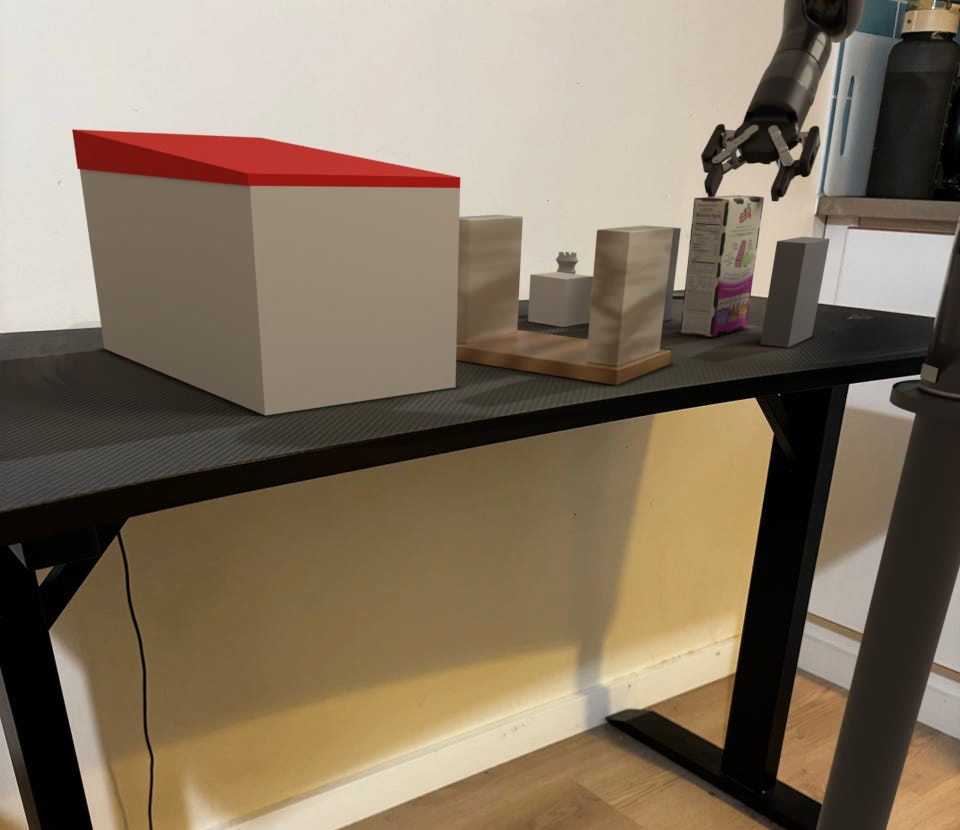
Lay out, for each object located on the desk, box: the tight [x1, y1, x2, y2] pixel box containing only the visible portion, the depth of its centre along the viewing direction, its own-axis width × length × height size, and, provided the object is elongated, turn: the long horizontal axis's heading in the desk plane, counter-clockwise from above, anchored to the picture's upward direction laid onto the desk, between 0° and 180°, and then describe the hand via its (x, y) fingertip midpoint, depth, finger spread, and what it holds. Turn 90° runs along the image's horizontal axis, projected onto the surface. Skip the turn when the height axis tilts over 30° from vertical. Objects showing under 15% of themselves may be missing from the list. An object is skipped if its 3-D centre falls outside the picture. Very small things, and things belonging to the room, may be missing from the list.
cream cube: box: [527, 271, 593, 328], centre depth 130 cm, size 6×6×6 cm
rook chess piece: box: [555, 251, 579, 274], centre depth 138 cm, size 4×4×8 cm
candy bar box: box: [679, 195, 765, 338], centre depth 125 cm, size 11×5×16 cm, turn 143°
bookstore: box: [71, 128, 461, 416], centre depth 93 cm, size 21×35×21 cm, turn 41°
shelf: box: [456, 214, 674, 386], centre depth 103 cm, size 23×14×14 cm, turn 58°
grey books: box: [658, 225, 830, 349], centre depth 126 cm, size 24×11×12 cm, turn 58°
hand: (741, 194), depth 124 cm, fingers open, 8 cm apart
